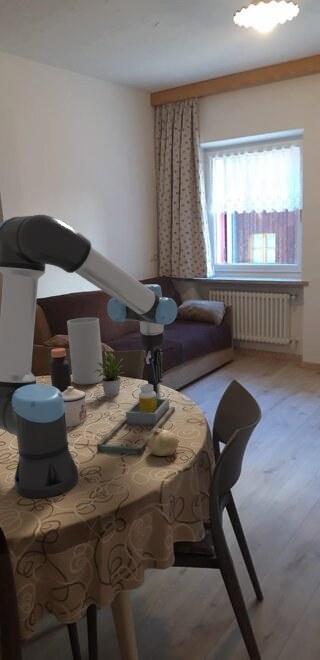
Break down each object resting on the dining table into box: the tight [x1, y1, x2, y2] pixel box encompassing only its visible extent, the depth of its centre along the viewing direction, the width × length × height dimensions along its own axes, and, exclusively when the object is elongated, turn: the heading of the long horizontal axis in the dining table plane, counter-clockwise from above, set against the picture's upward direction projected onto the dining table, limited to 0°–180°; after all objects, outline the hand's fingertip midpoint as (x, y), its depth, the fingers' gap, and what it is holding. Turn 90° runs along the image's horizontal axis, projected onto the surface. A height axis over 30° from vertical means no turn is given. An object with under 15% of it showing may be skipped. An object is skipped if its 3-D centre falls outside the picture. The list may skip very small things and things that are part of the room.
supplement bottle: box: [138, 383, 157, 413], centre depth 159 cm, size 5×5×10 cm
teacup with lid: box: [62, 385, 88, 427], centre depth 162 cm, size 12×9×12 cm
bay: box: [96, 406, 176, 455], centre depth 152 cm, size 32×13×2 cm, turn 162°
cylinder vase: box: [66, 317, 105, 386], centre depth 204 cm, size 12×12×25 cm
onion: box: [147, 428, 179, 457], centre depth 135 cm, size 8×8×7 cm
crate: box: [125, 398, 171, 428], centre depth 159 cm, size 14×10×4 cm
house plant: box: [94, 351, 125, 398], centre depth 186 cm, size 14×14×16 cm
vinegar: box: [49, 347, 73, 393], centre depth 177 cm, size 7×7×20 cm
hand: (156, 402), depth 167 cm, fingers closed
